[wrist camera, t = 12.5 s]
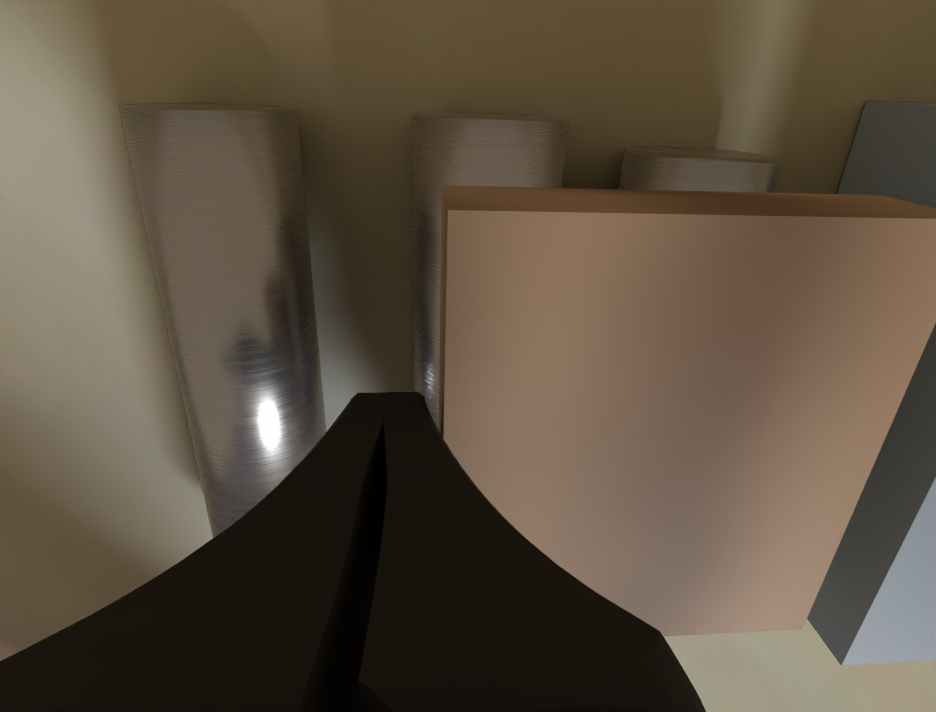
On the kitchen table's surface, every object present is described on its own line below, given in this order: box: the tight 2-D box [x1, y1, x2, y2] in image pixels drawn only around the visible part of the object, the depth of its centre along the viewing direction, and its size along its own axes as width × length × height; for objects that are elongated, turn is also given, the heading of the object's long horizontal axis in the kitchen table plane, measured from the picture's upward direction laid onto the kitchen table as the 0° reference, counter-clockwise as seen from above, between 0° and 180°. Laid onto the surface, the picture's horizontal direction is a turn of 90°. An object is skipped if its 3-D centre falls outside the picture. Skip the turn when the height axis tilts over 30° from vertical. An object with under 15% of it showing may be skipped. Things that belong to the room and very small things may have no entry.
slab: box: [439, 185, 936, 636], centre depth 11 cm, size 8×9×2 cm
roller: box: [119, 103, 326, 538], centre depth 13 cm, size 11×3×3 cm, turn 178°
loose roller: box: [619, 146, 782, 193], centre depth 14 cm, size 10×3×3 cm, turn 178°
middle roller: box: [412, 112, 569, 430], centre depth 13 cm, size 11×3×3 cm
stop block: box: [807, 101, 936, 666], centre depth 13 cm, size 4×12×5 cm, turn 178°
